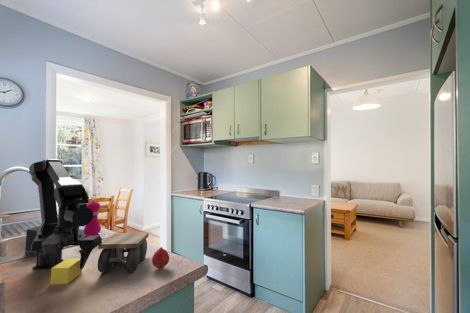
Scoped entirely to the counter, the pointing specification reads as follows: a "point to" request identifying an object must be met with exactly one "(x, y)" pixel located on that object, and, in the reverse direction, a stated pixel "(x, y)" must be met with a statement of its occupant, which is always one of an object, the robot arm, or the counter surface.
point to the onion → (160, 258)
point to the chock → (65, 271)
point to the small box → (30, 240)
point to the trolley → (122, 250)
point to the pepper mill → (93, 220)
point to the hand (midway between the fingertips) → (67, 269)
